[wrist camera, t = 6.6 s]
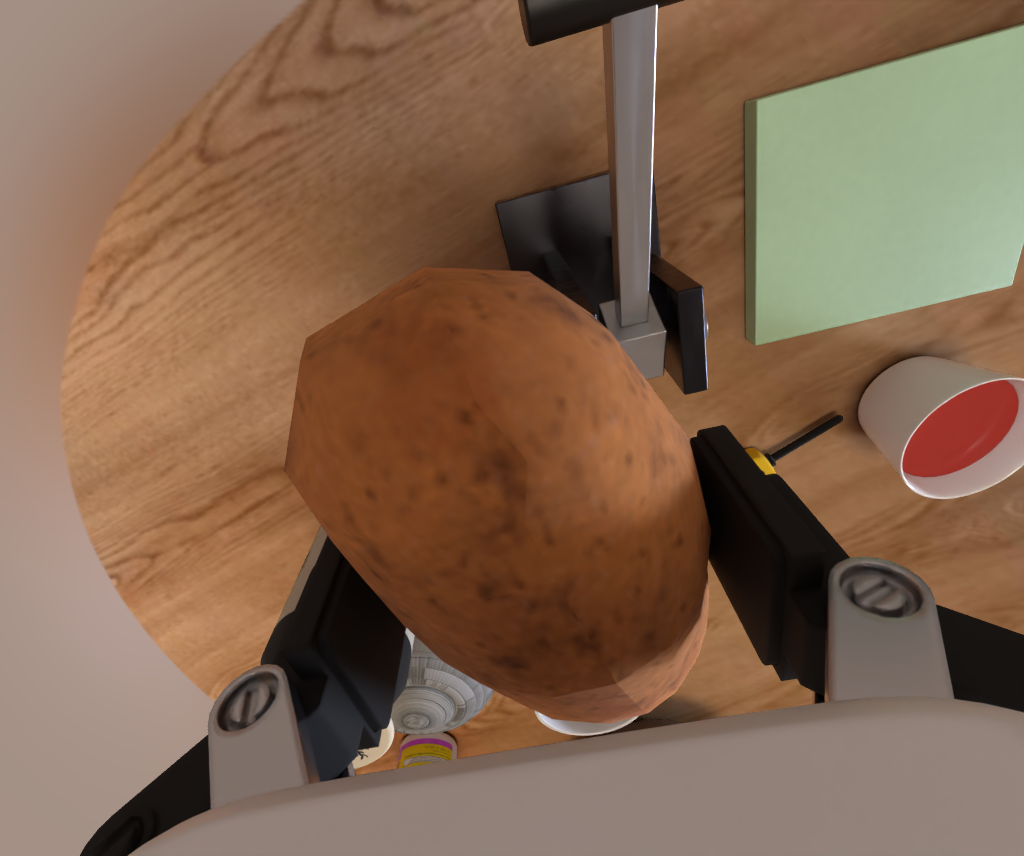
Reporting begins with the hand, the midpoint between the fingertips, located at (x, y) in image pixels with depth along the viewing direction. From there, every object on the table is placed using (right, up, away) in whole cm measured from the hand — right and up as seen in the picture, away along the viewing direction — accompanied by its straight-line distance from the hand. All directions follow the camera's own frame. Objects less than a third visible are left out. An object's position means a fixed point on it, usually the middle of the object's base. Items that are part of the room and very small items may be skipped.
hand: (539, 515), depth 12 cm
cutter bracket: (+4, +12, +20) cm, 23 cm away
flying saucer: (-10, -23, +39) cm, 47 cm away
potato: (0, +1, +2) cm, 3 cm away
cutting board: (+21, +16, +18) cm, 32 cm away
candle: (+28, +4, +25) cm, 38 cm away
